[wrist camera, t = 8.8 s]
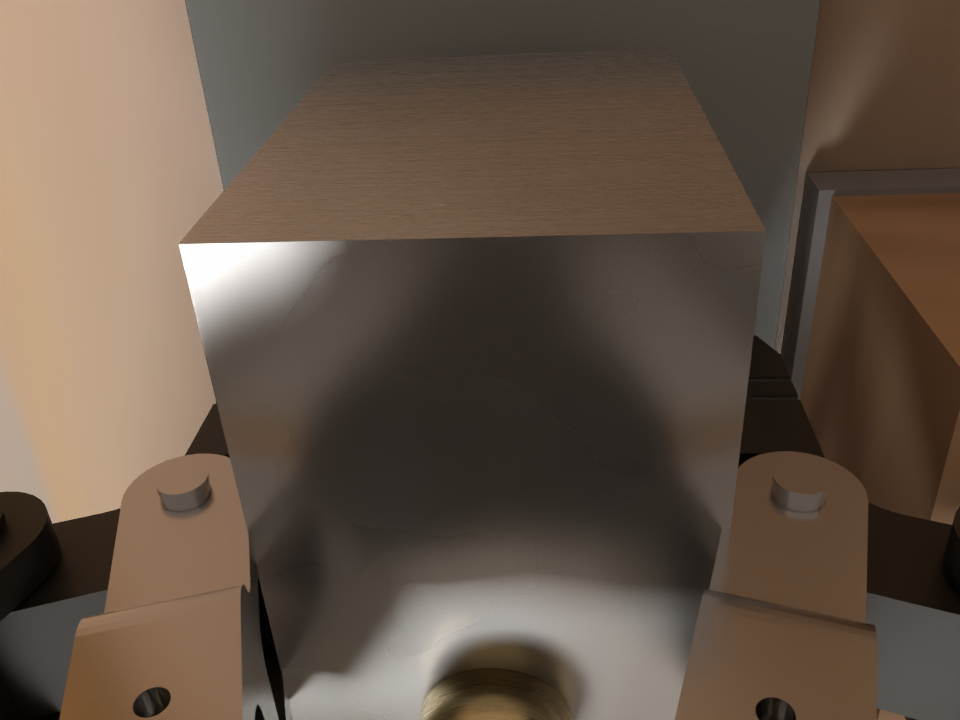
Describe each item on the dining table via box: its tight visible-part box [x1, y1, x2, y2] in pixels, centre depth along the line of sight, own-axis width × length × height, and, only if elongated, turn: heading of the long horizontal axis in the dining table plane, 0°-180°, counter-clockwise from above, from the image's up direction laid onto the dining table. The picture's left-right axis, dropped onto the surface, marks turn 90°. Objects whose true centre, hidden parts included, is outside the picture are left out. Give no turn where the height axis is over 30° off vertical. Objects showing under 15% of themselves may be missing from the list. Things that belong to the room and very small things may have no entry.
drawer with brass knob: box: [179, 48, 766, 720], centre depth 11 cm, size 4×8×7 cm, turn 3°
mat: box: [185, 0, 821, 349], centre depth 15 cm, size 10×9×1 cm
